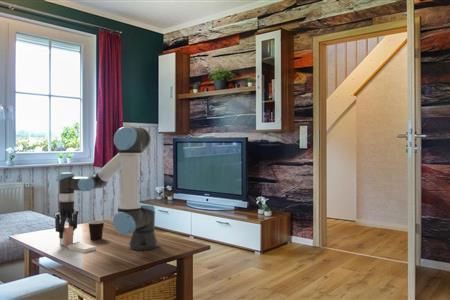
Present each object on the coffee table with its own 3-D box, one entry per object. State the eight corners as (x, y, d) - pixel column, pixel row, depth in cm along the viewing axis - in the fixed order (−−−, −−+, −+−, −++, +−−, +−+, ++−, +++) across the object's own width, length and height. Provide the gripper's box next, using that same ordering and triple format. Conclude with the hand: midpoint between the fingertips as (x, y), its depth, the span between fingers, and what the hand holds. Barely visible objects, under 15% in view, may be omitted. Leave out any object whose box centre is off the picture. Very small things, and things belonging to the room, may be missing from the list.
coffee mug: (98, 241, 211) (99, 224, 210) (85, 240, 212) (85, 223, 212) (109, 236, 222) (109, 220, 222) (96, 235, 224) (96, 219, 224)
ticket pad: (95, 250, 194) (95, 246, 194) (84, 253, 188) (84, 249, 188) (79, 245, 202) (79, 241, 202) (67, 248, 196) (67, 244, 196)
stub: (73, 244, 202) (73, 226, 202) (66, 246, 199) (66, 227, 199) (66, 243, 206) (66, 225, 205) (59, 244, 202) (60, 226, 202)
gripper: (76, 198, 211) (76, 239, 211) (47, 202, 197) (47, 245, 197) (84, 199, 207) (84, 241, 207) (56, 203, 193) (55, 247, 193)
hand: (66, 243), depth 202 cm, fingers closed on stub, 4 cm apart
